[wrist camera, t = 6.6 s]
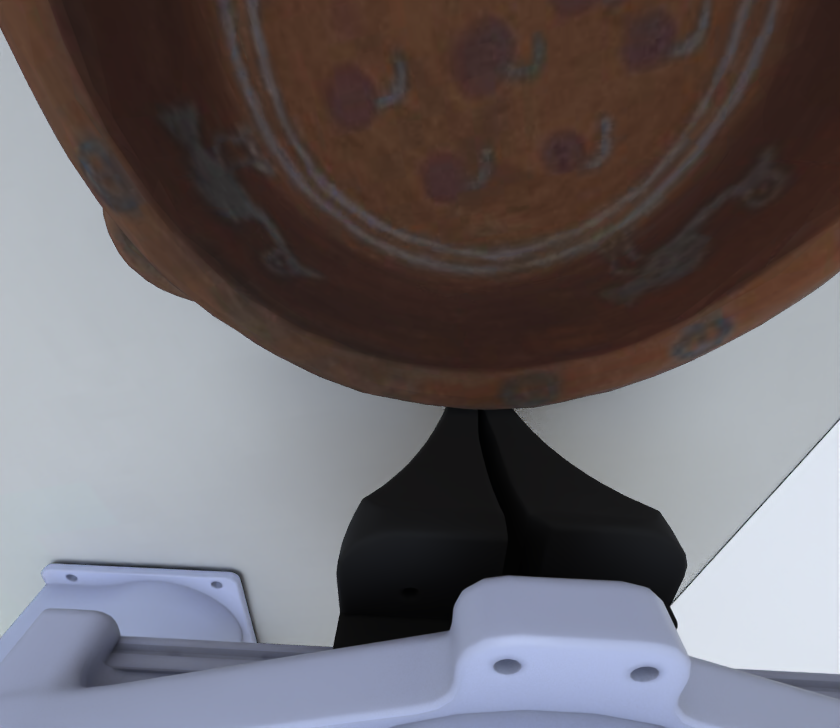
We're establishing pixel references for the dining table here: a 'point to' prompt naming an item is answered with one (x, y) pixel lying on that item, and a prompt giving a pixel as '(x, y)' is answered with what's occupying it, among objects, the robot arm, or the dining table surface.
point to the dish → (457, 176)
